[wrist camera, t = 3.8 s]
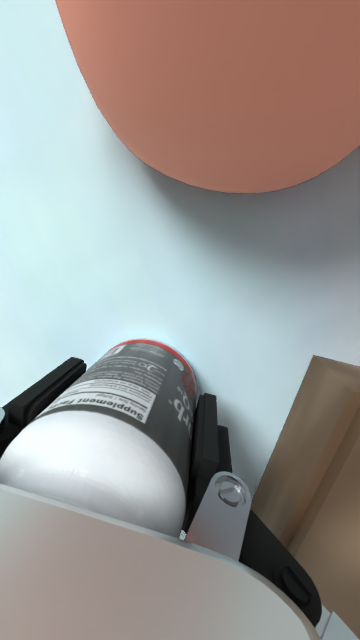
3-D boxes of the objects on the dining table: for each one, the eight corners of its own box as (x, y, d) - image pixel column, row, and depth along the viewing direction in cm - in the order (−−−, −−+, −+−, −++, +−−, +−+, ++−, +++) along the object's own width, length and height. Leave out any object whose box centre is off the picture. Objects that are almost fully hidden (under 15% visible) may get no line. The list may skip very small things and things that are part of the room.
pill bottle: (194, 430, 14) (161, 789, 5) (102, 418, 15) (-95, 716, 5) (201, 339, 13) (175, 592, 3) (98, 330, 13) (-189, 520, 4)
